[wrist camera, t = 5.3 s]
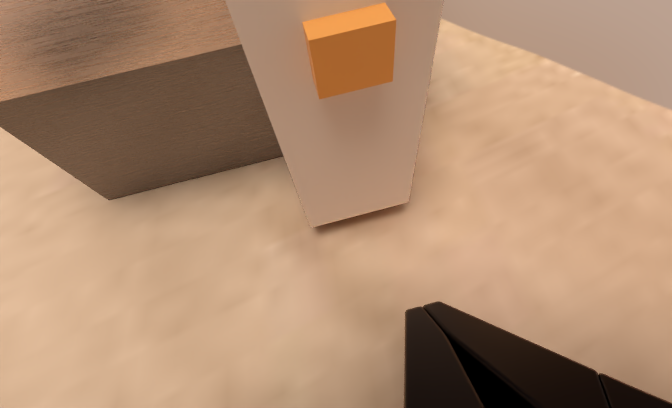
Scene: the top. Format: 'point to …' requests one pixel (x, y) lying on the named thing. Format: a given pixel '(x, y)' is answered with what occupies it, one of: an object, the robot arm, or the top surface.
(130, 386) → the top surface
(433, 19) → the block
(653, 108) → the top surface
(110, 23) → the rail board
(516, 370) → the robot arm
